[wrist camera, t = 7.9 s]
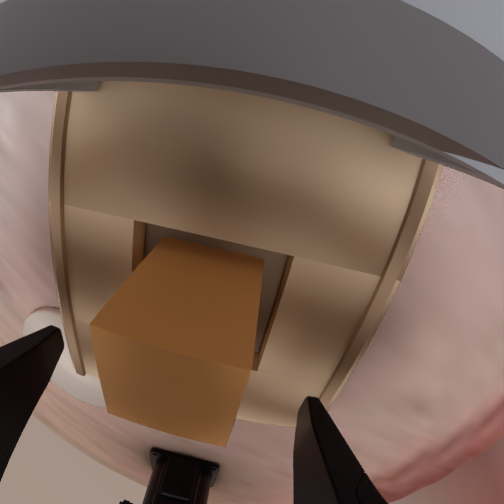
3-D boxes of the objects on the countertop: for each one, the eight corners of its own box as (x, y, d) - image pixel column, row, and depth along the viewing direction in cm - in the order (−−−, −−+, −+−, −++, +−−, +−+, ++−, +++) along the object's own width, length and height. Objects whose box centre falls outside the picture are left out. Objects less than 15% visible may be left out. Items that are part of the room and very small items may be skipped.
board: (313, 412, 18) (314, 433, 16) (83, 354, 17) (71, 371, 16) (453, -27, 6) (470, -38, 5) (134, -81, 6) (120, -96, 5)
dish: (133, 413, 20) (130, 420, 19) (43, 374, 20) (39, 380, 19) (124, 332, 16) (118, 341, 15) (18, 290, 16) (11, 296, 15)
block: (244, 336, 15) (225, 447, 9) (159, 315, 15) (107, 412, 9) (264, 258, 13) (252, 369, 7) (164, 235, 13) (89, 323, 7)
